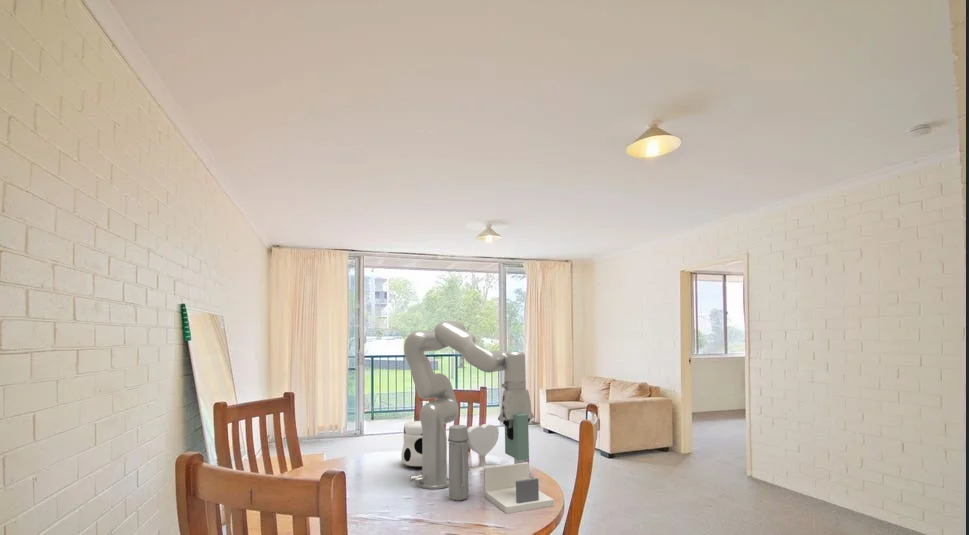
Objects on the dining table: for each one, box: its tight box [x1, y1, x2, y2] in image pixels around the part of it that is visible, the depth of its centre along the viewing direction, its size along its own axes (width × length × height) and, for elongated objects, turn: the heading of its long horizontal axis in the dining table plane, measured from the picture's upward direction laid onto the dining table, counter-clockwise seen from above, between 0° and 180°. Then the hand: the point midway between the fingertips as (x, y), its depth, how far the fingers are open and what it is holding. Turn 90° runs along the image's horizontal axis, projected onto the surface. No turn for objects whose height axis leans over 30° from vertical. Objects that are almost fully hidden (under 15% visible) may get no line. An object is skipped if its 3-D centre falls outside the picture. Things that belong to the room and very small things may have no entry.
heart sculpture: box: [467, 423, 500, 472], centre depth 230 cm, size 16×5×18 cm, turn 125°
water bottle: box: [447, 424, 470, 502], centre depth 190 cm, size 9×8×25 cm
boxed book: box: [504, 414, 530, 460], centre depth 189 cm, size 4×11×15 cm, turn 23°
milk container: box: [400, 420, 422, 469], centre depth 234 cm, size 17×17×18 cm
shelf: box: [483, 462, 555, 514], centre depth 186 cm, size 18×19×10 cm
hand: (516, 437), depth 189 cm, fingers closed on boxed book, 4 cm apart
